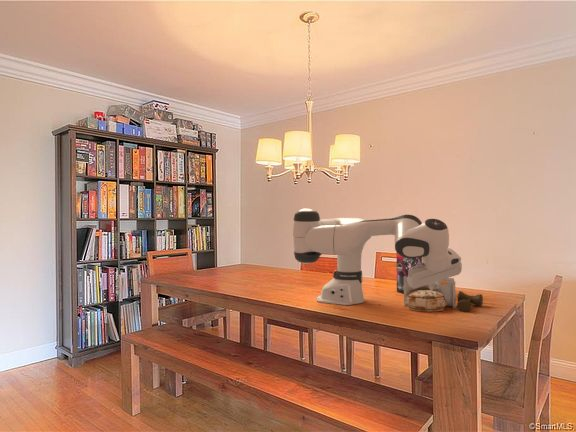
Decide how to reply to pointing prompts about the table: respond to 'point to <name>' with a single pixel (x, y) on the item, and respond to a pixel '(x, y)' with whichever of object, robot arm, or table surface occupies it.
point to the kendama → (468, 301)
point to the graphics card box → (404, 269)
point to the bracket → (444, 288)
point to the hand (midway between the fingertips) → (433, 288)
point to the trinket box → (426, 301)
